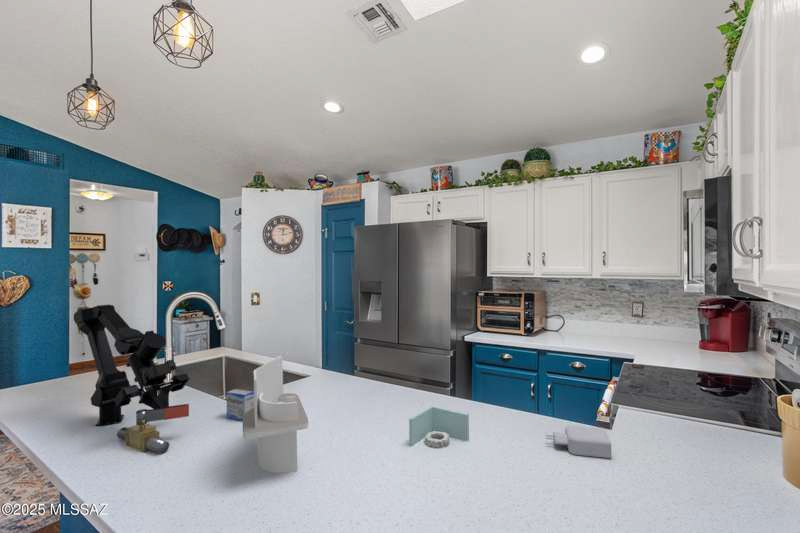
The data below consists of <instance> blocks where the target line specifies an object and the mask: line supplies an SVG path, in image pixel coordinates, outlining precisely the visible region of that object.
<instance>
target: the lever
mask: <svg viewBox="0 0 800 533" xmlns="http://www.w3.org/2000/svg"><path fill="white" fill-rule="evenodd" d="M189 416H190V405H189V403H185V404H184V403H183V404H176V405H169V407H165V408H158V409H153V408H150V409H147V408H143V409H139V410H136V411H135V419H136V420H135V422H136V424H135V425H144V424H146V423H147V424H149V423H151V422H157V421H162V420H163V421H167V420H172V419H173V420H174V419H179V418H186V417H189Z"/></svg>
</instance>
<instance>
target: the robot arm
mask: <svg viewBox="0 0 800 533" xmlns="http://www.w3.org/2000/svg"><path fill="white" fill-rule="evenodd" d="M73 321H74V323H75V325H76V326H77V329H78V331H80V332H82V334H84V335H86V336H87V340H88V343H89V347H90V349H91V350H90V351H91V353H92V356H93V360H94V363H95V367H96V370H97V374H98V378H97V379H96V383H95V390H94V392H93V394H92V395H91V397H90V402H91V406H94V407H97V408H98V411H99V412H98V413H99V415H98V416H99V417H98V418H99V419H98V420H97V422H96V424H95V426H96V427H99V426H104V425H105V426H106V425H112V424H117V423H118V424H119V423H121V422H122V421H123V419H124V417H125V414H122V407H124V406H128V405H130V403H131V402H132V399H133V398H136V397H139V401H138V404H139V405H141V404H143V405H145V406H148V407H149V408H150V409H158V408H165V407H169V406H170V404H169V403H170V399H169V398H170V392H171V393H175V392H178V391H181V390H183V389H184V388H185V386H186V385H187V384H188V382H189V381H190V380H191V378H190V376H189V374H188V373H187V372H182V373H177V374H173V375H172V377H171V378H170V380H167V378H168V375H169V374H172V373H173V371H174V370H176V369H177V363H176V362H175V360H174V359H173V358H172V359H169V360H166V361H164V363H159V364H155V363H156V362H155V361H154V359H156V358H157V357H158V355H159V354H160V353H161V351H162V350H163V349H164V347H165V345H166V344H167V341H166V340H167V339H166V338H165V336H163V335H161V334H160V333H156V332H154V330H147V331H145V332H144V333H143V332H142V331H140V330H138V329H135V328H133V327H132V328H131V327H130V326H129V324H128V323H127V322H126V321H125V320H124V319H123V318H122V316H121V315H120V314H119V313H118V312H117V311H116V309H115V306H114V305H113V304H99V305H95V306H92V307H84V308H83V307H82V308H78V309H77V311H76V312H74V314H73ZM105 329H106V330H107V331H108V332H109V333H110V334H111V335H112V337H113V338H114V340H115V341H114V347H115V350H116V352H118V354H119V355H120V356H126V355H130V356H129V357H128V360H127V362H126V367H127V368H131V370H132V372H133V374H134V376H135V377H134V379H133V381H134V382H135V383H138V384H133V385H130V384H131V383H130V381H129V379H128V376H127V372H126V371H125V370H120V369H118V368H117V365H116V362H115V359H114V355H113V352H112V349H111V346H110V343H109V339H108V336H107V334H106V330H105ZM165 380H167V381H165ZM138 385H139V386H138Z"/></svg>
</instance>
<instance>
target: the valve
mask: <svg viewBox="0 0 800 533" xmlns="http://www.w3.org/2000/svg"><path fill="white" fill-rule="evenodd" d="M116 436H117V438H118V439H120V440H121V441H125V446H126V447H129V448H132V449H135V450H136V451H139V452H143V453H147V452H149V451H152V452H153V453H157V454H159V455H163V454H165V453H166V452H168V450H169V449H170V442H169V441H168V440H165V439H162V438H160V431H158V430H157V427H156V425H153V424H149V423H146V424H144V425H136V424H135V425H132V426H130V427H128V426H123V427H121V428H120V429H119V430H118V431H117V433H116Z"/></svg>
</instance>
